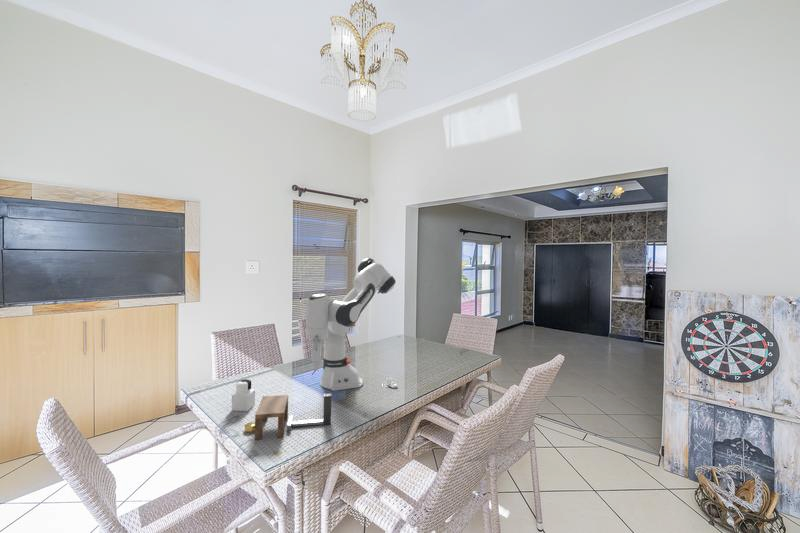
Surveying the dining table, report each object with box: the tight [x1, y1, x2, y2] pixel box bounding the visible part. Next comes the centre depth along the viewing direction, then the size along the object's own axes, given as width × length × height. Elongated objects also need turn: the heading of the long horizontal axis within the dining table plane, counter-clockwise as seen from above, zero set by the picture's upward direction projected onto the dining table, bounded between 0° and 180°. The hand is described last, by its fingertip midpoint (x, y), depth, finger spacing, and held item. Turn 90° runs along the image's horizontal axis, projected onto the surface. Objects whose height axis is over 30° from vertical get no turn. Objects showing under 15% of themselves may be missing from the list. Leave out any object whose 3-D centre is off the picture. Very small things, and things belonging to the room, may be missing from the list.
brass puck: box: [244, 421, 255, 434], centre depth 130 cm, size 5×5×2 cm
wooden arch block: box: [254, 394, 289, 441], centre depth 132 cm, size 10×16×10 cm, turn 13°
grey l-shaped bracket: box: [286, 392, 333, 433], centre depth 135 cm, size 17×8×12 cm, turn 103°
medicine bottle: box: [231, 378, 256, 412], centre depth 148 cm, size 7×7×12 cm
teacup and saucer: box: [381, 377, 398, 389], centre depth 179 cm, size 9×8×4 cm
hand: (316, 366), depth 139 cm, fingers open, 8 cm apart
